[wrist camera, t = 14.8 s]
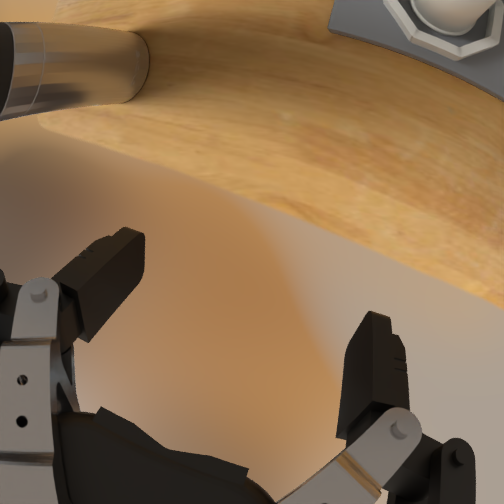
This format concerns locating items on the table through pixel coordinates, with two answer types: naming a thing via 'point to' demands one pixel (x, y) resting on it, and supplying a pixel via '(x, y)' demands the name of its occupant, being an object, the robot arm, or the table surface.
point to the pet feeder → (429, 39)
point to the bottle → (450, 14)
